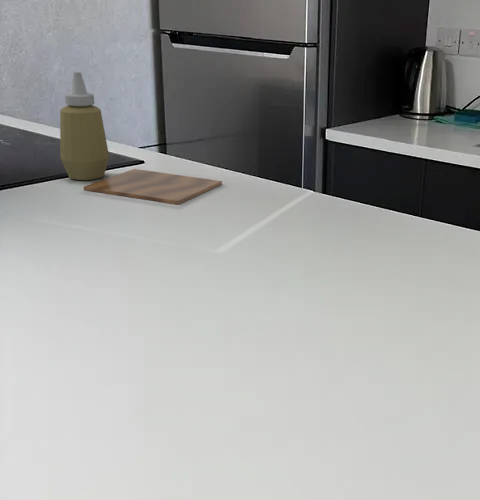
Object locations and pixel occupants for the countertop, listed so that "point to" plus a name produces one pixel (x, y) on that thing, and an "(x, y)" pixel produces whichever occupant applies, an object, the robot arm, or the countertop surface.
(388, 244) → the countertop surface
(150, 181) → the wooden board
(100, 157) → the squeeze bottle
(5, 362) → the countertop surface
